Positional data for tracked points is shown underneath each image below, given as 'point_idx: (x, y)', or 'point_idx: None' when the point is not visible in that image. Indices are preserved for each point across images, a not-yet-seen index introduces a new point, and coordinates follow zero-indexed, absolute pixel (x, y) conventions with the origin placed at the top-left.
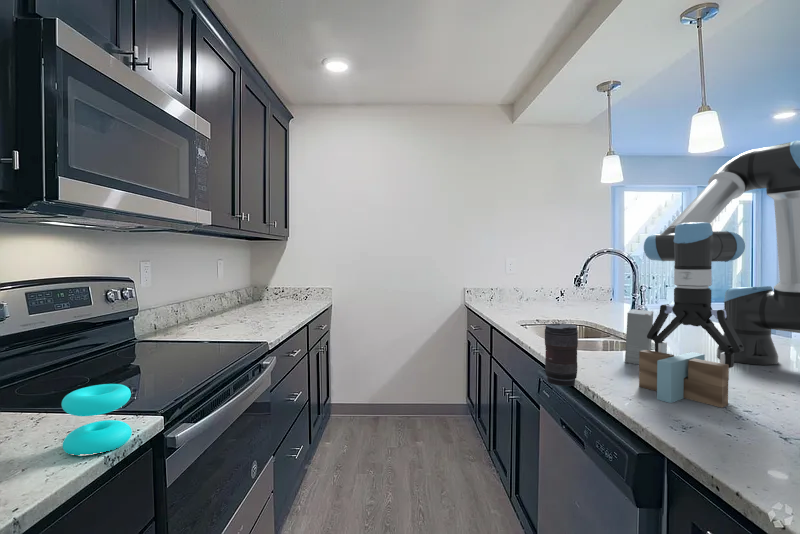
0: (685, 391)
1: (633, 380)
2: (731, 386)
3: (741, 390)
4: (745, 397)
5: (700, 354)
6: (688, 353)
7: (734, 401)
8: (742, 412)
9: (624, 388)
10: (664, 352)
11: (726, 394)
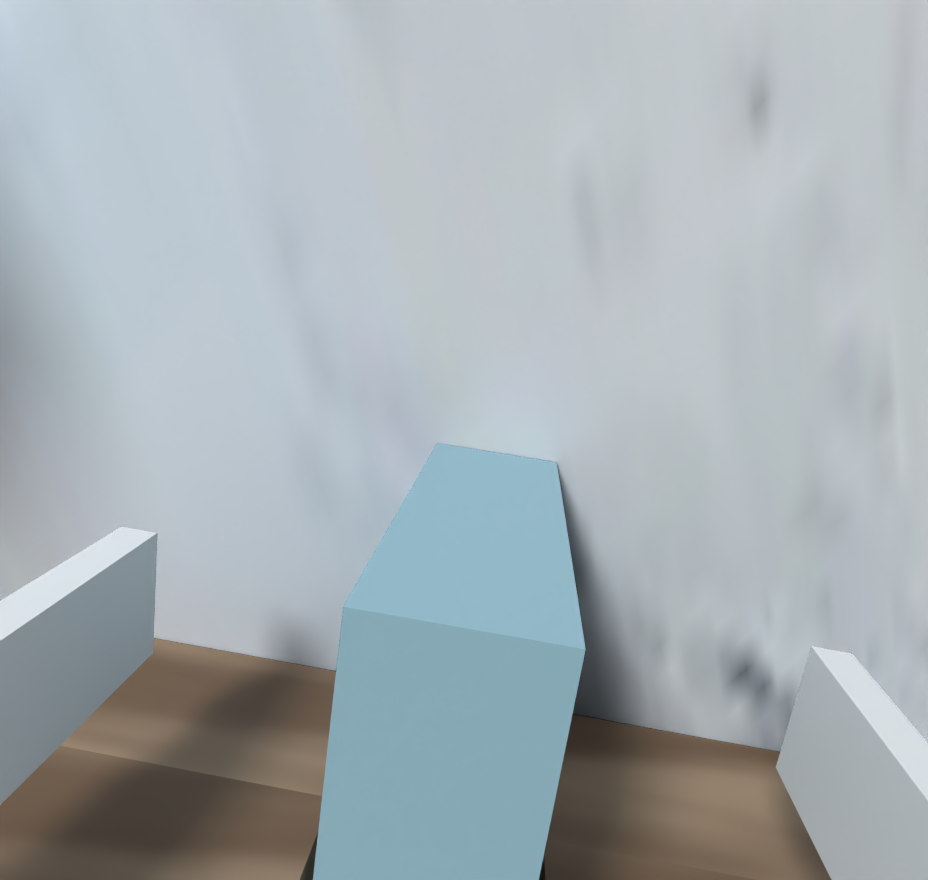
0: None
1: (10, 569)
2: (730, 35)
3: (838, 139)
4: (893, 403)
5: (533, 722)
6: (358, 777)
7: (823, 610)
8: None
9: None
10: (8, 702)
11: None
